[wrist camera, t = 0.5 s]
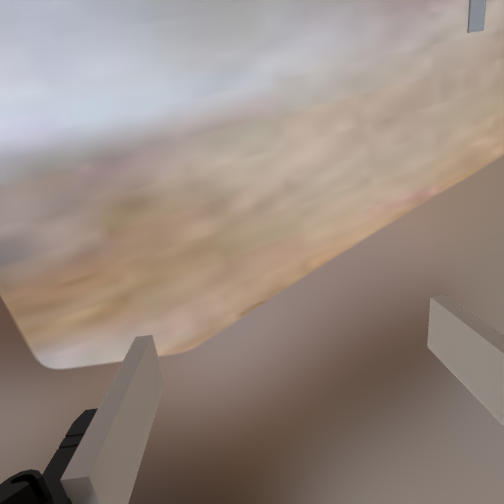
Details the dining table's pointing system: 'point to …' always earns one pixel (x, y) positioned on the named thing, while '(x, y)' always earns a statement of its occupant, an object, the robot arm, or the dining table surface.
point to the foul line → (476, 15)
